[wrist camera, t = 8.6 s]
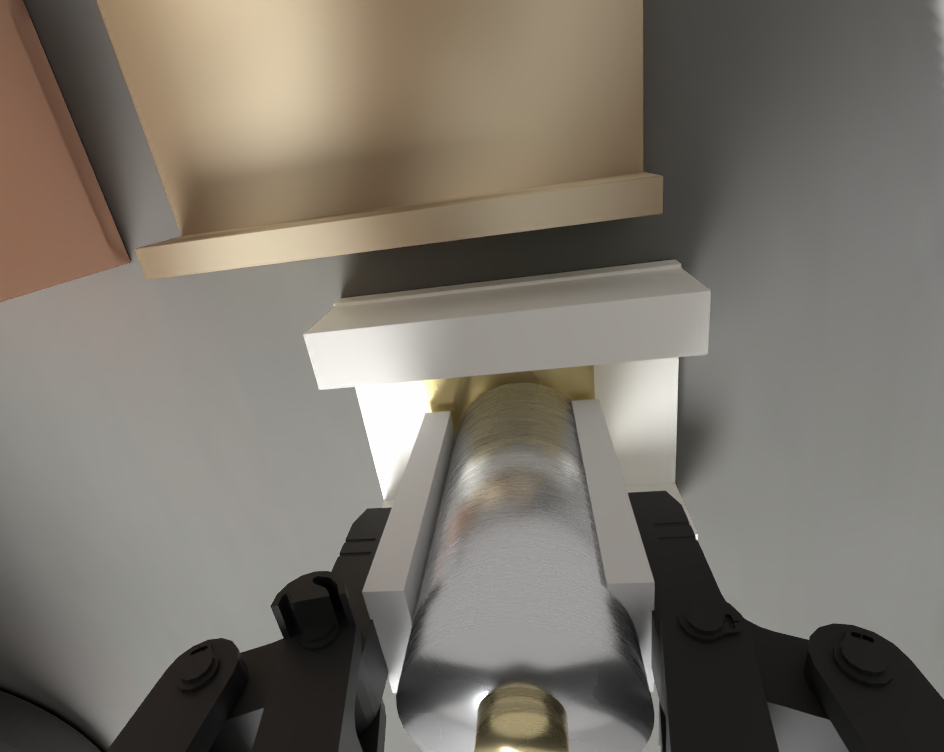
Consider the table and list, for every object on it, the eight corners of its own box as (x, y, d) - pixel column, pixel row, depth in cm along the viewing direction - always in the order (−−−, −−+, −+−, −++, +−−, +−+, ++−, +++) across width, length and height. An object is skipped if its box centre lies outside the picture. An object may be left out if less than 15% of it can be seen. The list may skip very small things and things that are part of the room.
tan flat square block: (453, 487, 18) (449, 510, 16) (429, 360, 16) (423, 376, 15) (594, 479, 17) (599, 502, 16) (587, 345, 15) (593, 361, 14)
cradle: (397, 525, 19) (376, 588, 17) (339, 298, 16) (301, 330, 13) (669, 512, 18) (695, 578, 15) (675, 259, 14) (711, 286, 12)
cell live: (467, 500, 16) (417, 829, 8) (446, 390, 15) (357, 669, 7) (595, 492, 16) (665, 836, 8) (586, 375, 14) (663, 663, 6)
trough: (203, 259, 16) (146, 280, 13) (95, -47, 13) (-4, -91, 10) (638, 201, 14) (662, 213, 11) (636, -173, 11) (669, -261, 8)
